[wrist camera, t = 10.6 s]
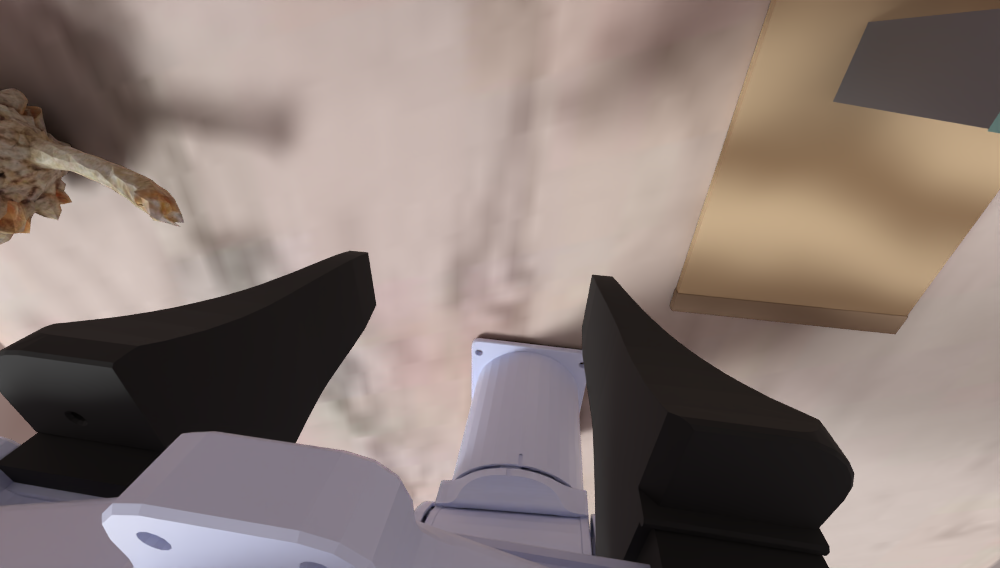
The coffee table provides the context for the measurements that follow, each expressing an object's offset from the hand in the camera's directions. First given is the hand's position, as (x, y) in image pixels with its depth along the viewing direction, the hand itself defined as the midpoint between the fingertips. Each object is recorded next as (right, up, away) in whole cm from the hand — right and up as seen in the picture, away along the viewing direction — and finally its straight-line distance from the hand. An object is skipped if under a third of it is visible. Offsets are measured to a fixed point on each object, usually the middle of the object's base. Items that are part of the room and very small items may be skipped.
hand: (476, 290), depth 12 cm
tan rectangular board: (+17, +5, +6) cm, 19 cm away
